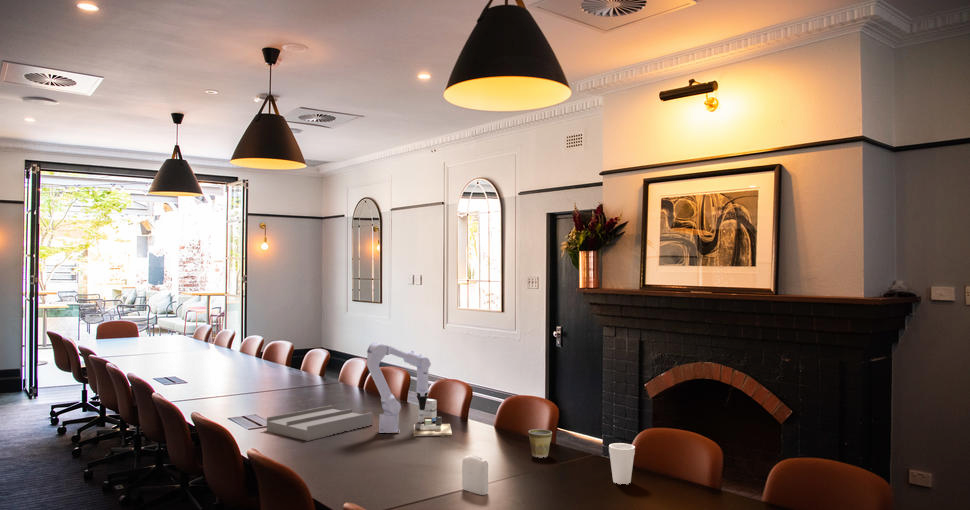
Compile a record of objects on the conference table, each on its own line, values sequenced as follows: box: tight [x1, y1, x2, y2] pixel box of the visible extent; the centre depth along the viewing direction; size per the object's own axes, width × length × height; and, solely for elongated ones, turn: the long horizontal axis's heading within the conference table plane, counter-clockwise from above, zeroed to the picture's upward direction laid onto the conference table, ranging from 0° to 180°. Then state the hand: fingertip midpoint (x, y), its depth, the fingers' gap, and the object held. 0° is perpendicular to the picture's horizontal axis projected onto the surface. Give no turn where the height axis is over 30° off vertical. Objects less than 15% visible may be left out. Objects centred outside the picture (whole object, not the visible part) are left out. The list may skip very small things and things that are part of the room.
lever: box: [415, 416, 443, 431], centre depth 311 cm, size 13×3×6 cm, turn 98°
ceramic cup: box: [528, 428, 553, 459], centre depth 274 cm, size 13×10×10 cm
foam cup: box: [608, 442, 636, 485], centre depth 238 cm, size 10×9×13 cm
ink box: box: [417, 398, 438, 422], centre depth 336 cm, size 8×5×12 cm, turn 59°
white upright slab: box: [461, 454, 489, 496], centre depth 225 cm, size 10×4×12 cm, turn 47°
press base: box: [413, 417, 453, 436], centre depth 314 cm, size 18×20×6 cm
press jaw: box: [425, 419, 431, 425], centre depth 316 cm, size 3×3×4 cm
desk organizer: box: [266, 404, 373, 442], centre depth 320 cm, size 32×40×7 cm
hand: (422, 408), depth 321 cm, fingers open, 7 cm apart
